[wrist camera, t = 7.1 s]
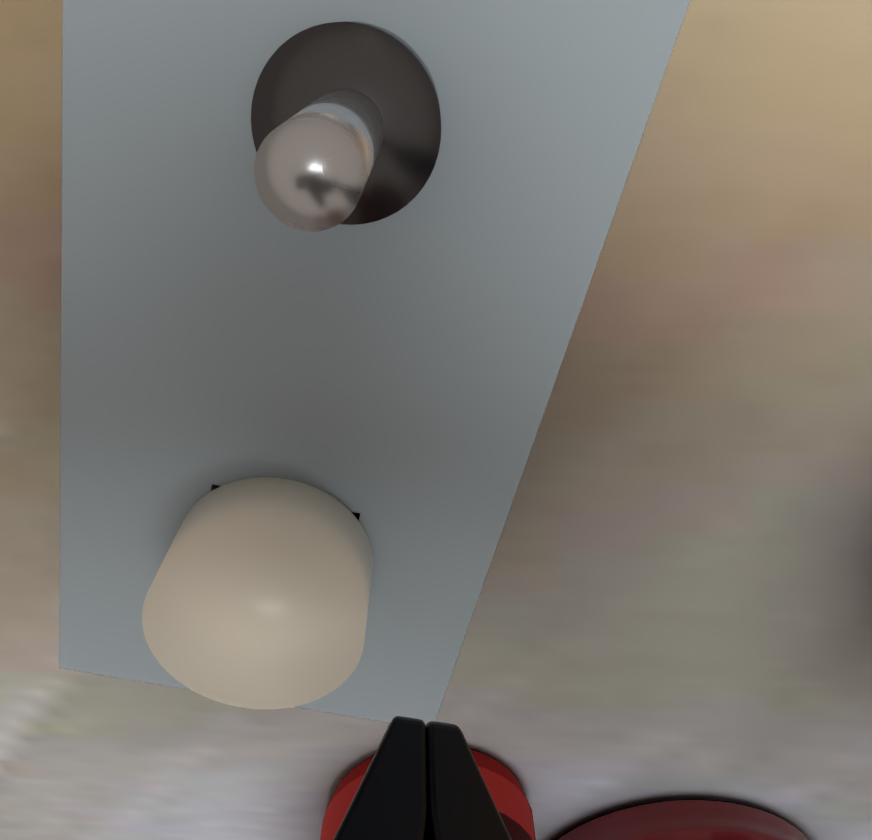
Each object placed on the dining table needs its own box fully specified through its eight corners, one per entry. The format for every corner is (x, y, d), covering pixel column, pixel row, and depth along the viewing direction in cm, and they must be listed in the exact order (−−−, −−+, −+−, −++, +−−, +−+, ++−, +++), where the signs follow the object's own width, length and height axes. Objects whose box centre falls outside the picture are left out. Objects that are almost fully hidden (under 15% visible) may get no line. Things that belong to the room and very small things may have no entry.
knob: (396, 438, 19) (384, 568, 15) (362, 573, 21) (343, 724, 17) (218, 400, 19) (148, 524, 14) (201, 542, 21) (136, 690, 16)
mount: (945, -962, 10) (1211, -1473, 7) (432, 626, 24) (431, 729, 21) (213, -1303, 9) (73, -2133, 6) (116, 568, 23) (59, 667, 19)
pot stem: (459, 48, 13) (474, 68, 8) (418, 221, 14) (409, 330, 9) (282, -1, 12) (181, -12, 7) (259, 182, 14) (162, 274, 9)
